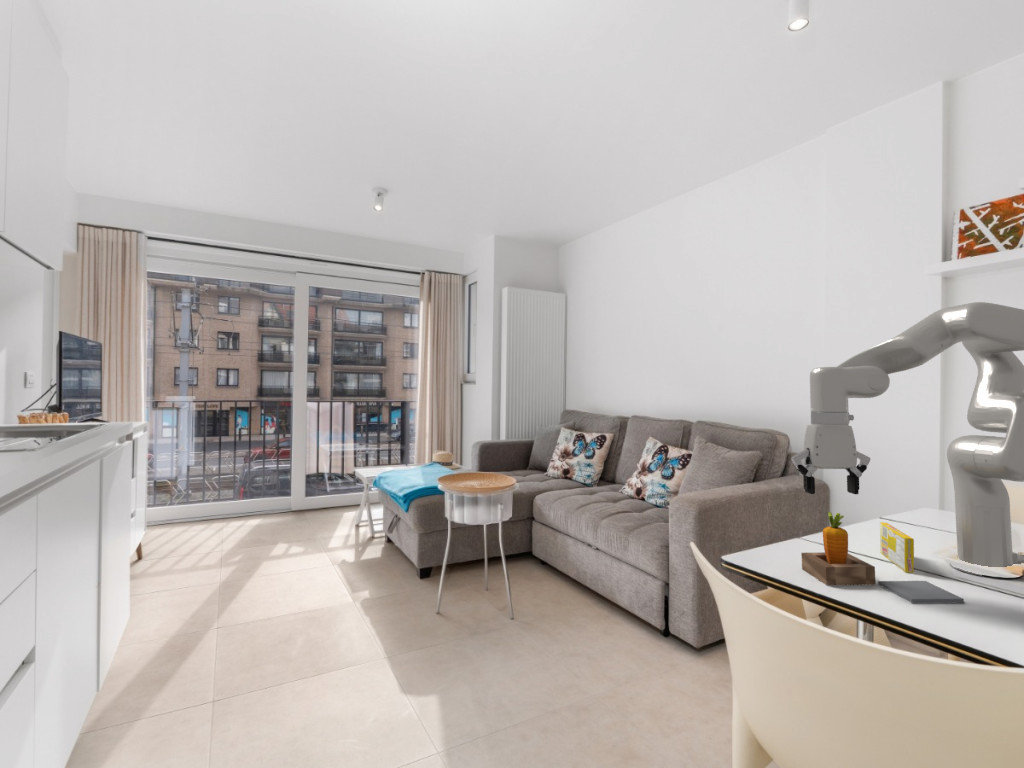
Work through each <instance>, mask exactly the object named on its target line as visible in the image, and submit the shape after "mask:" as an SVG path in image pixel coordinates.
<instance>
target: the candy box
mask: <svg viewBox="0 0 1024 768" xmlns="http://www.w3.org/2000/svg"><path fill="white" fill-rule="evenodd" d="M914 541H915V540H914V538H913V537H911V536H909V535H908V534H906V533H905V532H903V531H901V530H899V529H898V528H896V527H894V526H893V525H891V524H889V523H888V522H881V521H879V543H880V544H879V550H880V551H879V553H880V554H881V555H883V556H884V557H885V558H886V559H888V560H889V561H890V562H892V563H893V564H894V565H895V566H896V567H898V568H899V569H900V570H901V571H903V572H904V573H905V574H914V573H915V572H914V571H915V547H914V546H915V544H914V543H915V542H914Z"/></svg>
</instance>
